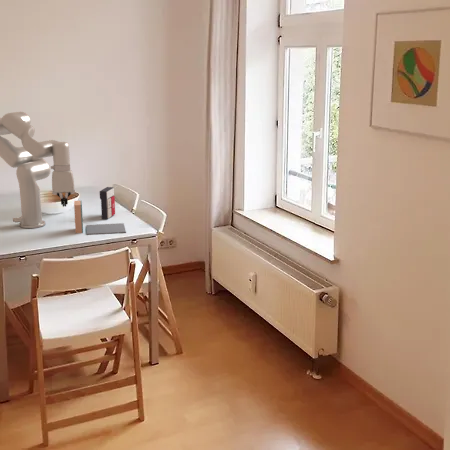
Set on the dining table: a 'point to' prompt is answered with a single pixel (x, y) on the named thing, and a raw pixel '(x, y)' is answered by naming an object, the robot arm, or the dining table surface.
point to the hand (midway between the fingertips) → (64, 205)
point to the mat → (106, 228)
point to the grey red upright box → (107, 202)
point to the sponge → (78, 216)
